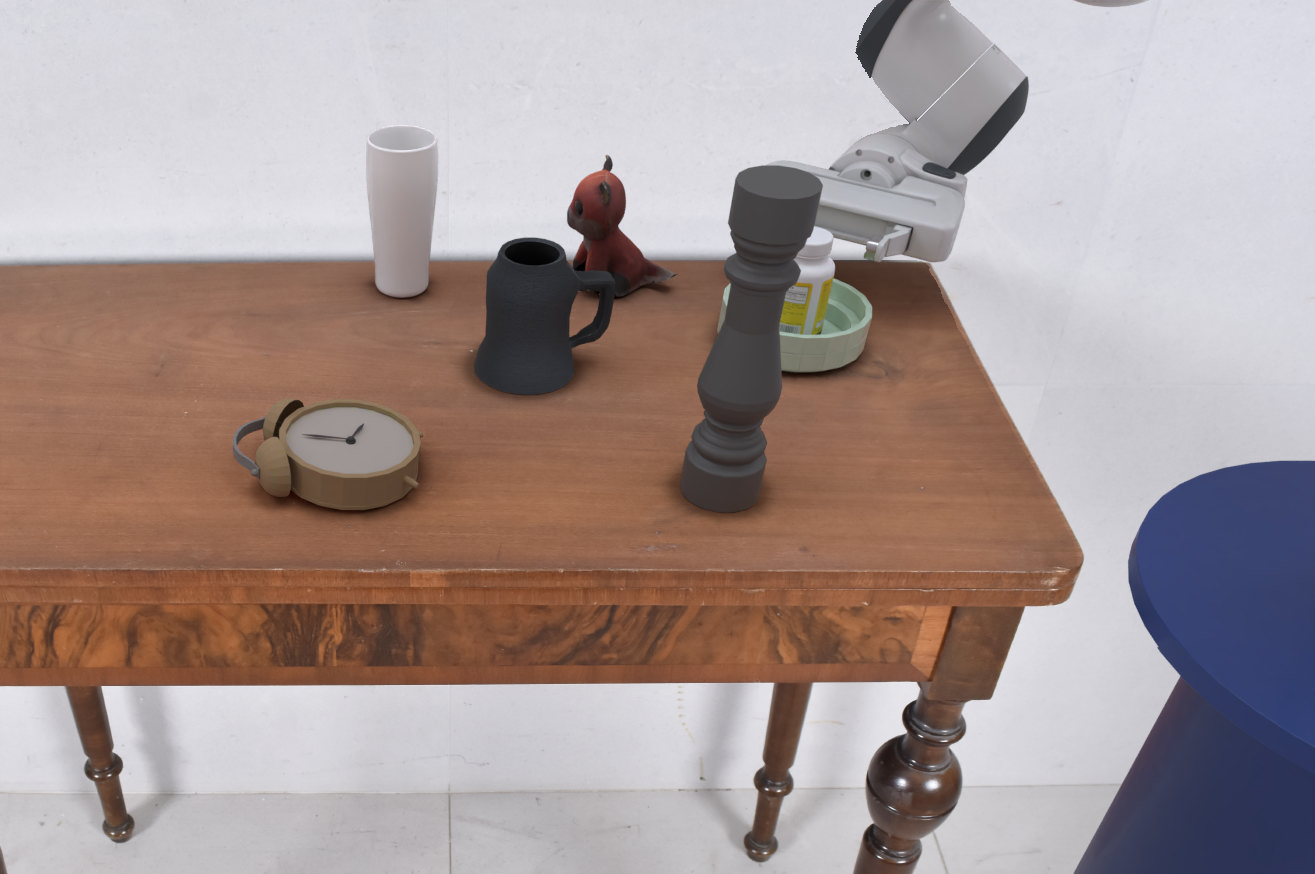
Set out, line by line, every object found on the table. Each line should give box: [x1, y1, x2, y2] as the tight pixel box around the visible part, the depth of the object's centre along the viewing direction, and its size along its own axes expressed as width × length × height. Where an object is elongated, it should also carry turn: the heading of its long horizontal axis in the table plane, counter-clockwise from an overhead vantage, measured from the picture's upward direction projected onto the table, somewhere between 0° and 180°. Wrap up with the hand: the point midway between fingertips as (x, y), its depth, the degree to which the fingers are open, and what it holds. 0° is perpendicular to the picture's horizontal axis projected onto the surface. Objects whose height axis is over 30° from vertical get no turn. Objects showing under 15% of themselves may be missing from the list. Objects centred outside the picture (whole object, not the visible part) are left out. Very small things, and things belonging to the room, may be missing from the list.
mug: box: [473, 236, 615, 395], centre depth 113 cm, size 12×9×11 cm
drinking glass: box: [365, 124, 439, 299], centre depth 123 cm, size 7×7×15 cm
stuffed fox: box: [566, 154, 679, 297], centre depth 124 cm, size 8×11×12 cm
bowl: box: [716, 277, 873, 373], centre depth 119 cm, size 13×13×4 cm
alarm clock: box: [232, 398, 424, 511], centre depth 103 cm, size 11×5×15 cm
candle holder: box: [679, 164, 823, 513], centre depth 94 cm, size 6×6×25 cm
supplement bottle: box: [779, 227, 836, 335], centre depth 116 cm, size 5×5×10 cm
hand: (821, 239), depth 117 cm, fingers open, 8 cm apart
